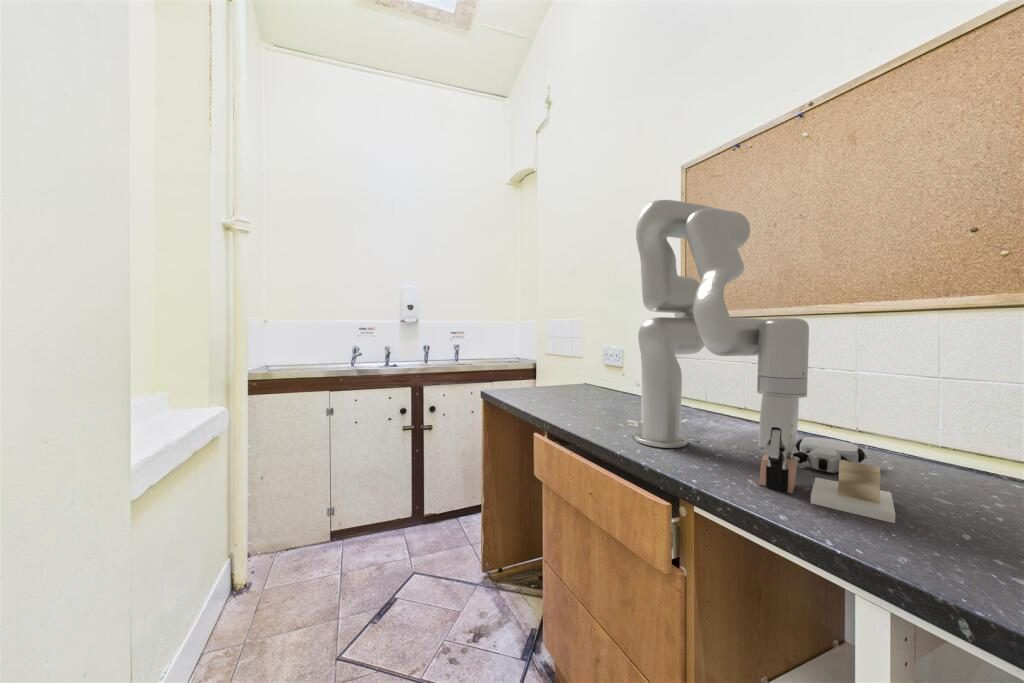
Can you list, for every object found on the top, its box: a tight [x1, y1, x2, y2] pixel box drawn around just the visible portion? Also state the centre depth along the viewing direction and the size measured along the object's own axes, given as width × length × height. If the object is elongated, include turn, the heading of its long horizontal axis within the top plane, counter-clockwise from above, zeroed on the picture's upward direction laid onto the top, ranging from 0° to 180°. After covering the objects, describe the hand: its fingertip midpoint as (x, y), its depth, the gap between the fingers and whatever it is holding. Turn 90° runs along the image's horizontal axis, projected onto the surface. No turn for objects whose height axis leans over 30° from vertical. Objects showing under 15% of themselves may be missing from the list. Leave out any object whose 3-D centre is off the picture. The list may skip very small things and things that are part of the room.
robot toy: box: [791, 435, 869, 474], centre depth 83 cm, size 12×4×15 cm
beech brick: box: [837, 460, 882, 504], centre depth 64 cm, size 5×4×5 cm
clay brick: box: [758, 453, 798, 494], centre depth 72 cm, size 5×4×5 cm
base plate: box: [810, 477, 896, 524], centre depth 65 cm, size 10×10×2 cm
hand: (778, 484), depth 72 cm, fingers closed on clay brick, 3 cm apart
